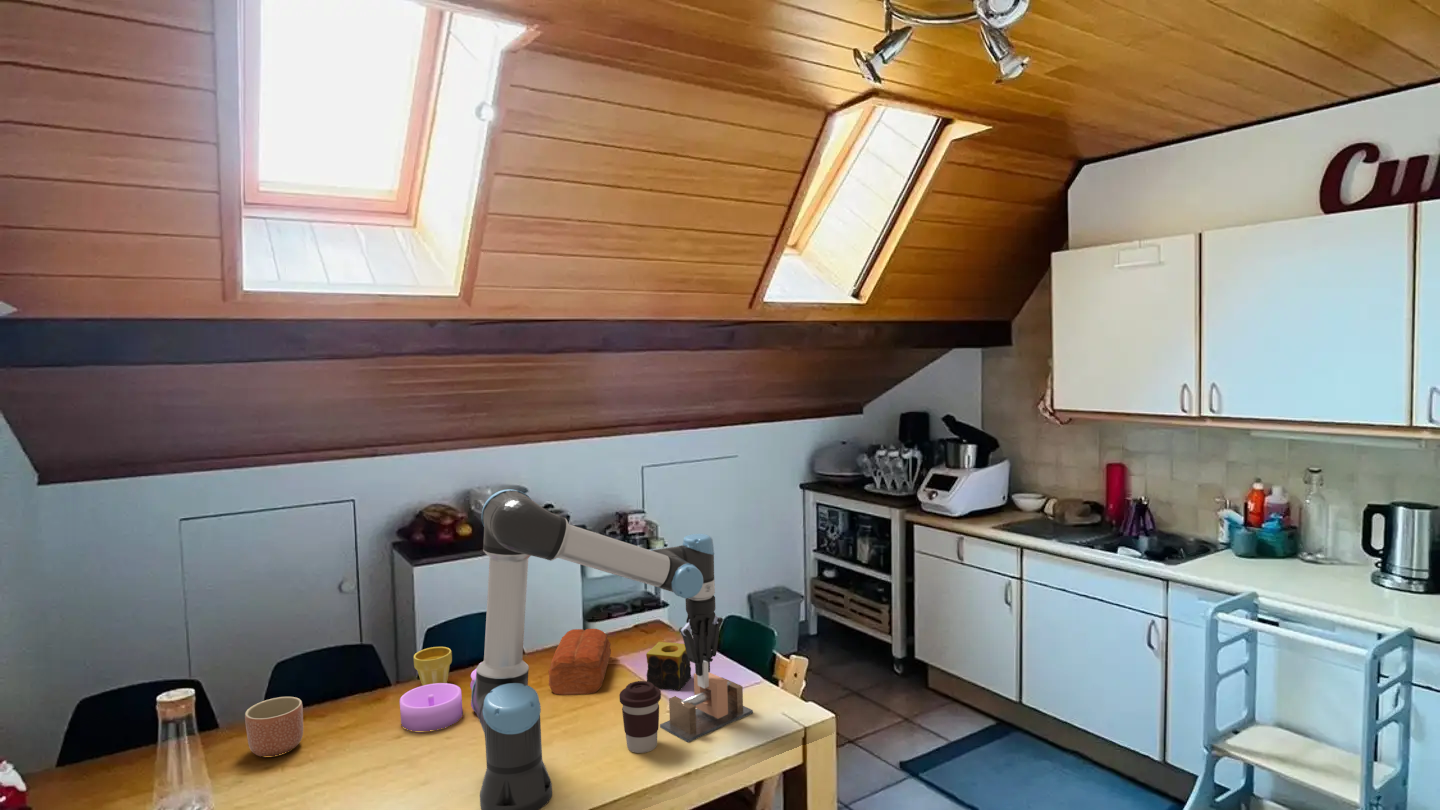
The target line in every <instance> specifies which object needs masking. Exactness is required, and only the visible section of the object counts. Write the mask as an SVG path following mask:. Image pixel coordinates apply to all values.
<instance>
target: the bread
mask: <svg viewBox="0 0 1440 810" xmlns="http://www.w3.org/2000/svg"><path fill="white" fill-rule="evenodd" d="M611 654H612V649H611V642H610V641H609V639H608V635H607V634H606V633H605V632H604V631H603V630H600V629H598V628H587V629H585V630H584V629H583V628H582V629H581V628H578V629H577V628H576V629H573V628H572V629H571V630H569V631H567V632H566V633H565V634H564V635H563V636H562V637H561V639H560V641H559V643H558V645H557V647H556V649H555V652H554V654H553V657H552V659H551V662H550V667H549V669H548V686H549V688H550V689H551V691H552V693H553V694H555V695H562V696H567V695H568V696H569V695H570V696H571V695H574V696H575V695H589V694H595V693H597V692H598V690H600V689H601V687H602V685H603V682H604V679H605V675H606V672H607V667H608V664H609V661H610V659H611Z"/></svg>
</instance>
